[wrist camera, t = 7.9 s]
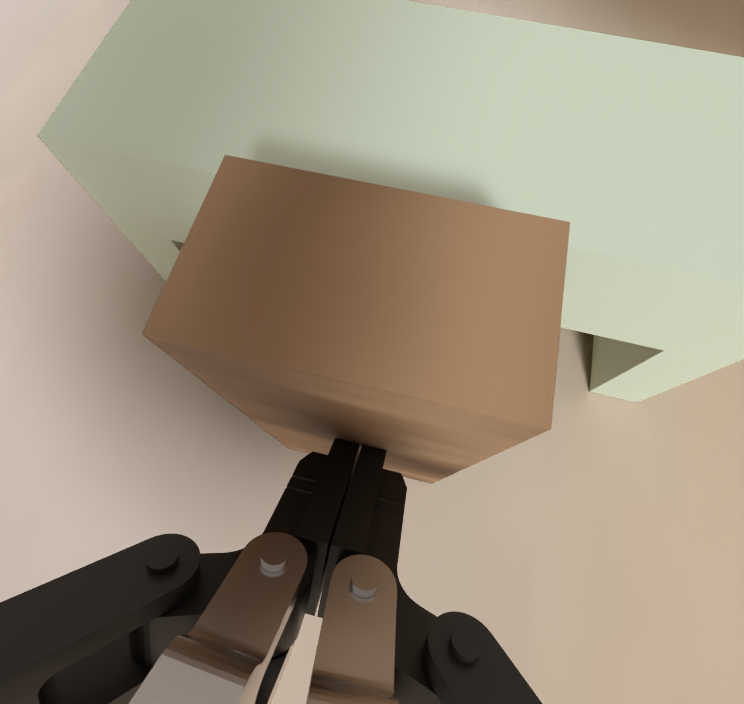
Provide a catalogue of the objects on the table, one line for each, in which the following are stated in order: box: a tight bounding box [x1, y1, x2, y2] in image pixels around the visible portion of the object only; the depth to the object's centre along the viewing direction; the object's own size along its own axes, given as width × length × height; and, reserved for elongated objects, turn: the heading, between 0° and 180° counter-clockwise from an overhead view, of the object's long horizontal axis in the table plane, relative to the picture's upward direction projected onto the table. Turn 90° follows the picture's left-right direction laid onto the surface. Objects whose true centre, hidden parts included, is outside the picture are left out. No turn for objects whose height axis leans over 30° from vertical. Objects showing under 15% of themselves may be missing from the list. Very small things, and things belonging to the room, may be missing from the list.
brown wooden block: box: [142, 155, 570, 484], centre depth 14 cm, size 8×15×12 cm, turn 167°
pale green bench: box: [38, 0, 744, 403], centre depth 16 cm, size 21×8×9 cm, turn 76°
